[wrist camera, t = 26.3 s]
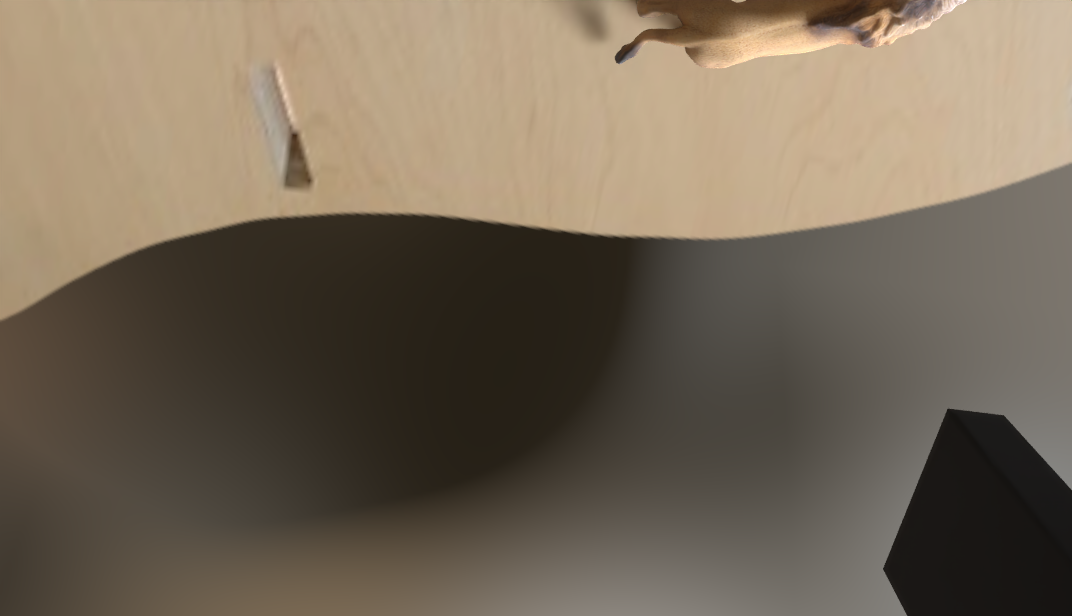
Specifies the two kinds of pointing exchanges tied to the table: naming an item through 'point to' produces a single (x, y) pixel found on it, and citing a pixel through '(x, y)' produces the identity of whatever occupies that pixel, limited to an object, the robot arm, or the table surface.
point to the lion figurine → (781, 26)
